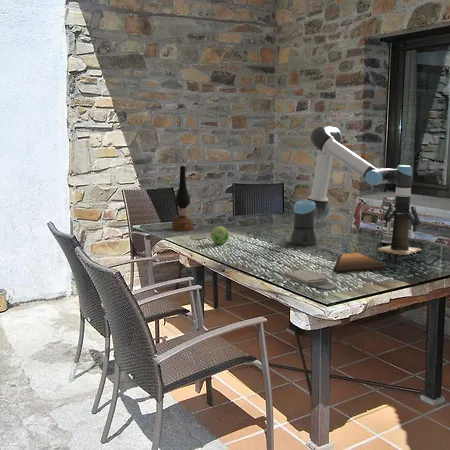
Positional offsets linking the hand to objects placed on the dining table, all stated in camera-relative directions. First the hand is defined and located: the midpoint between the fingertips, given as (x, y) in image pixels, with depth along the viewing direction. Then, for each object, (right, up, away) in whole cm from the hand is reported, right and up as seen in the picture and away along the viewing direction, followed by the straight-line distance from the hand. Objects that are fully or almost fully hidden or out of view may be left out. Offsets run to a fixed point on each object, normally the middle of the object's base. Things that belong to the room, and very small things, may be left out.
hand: (400, 235), depth 299 cm
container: (0, -7, +1) cm, 7 cm away
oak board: (0, -8, +1) cm, 8 cm away
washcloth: (-57, -18, -55) cm, 81 cm away
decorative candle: (+2, -4, +27) cm, 27 cm away
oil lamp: (-118, +3, +58) cm, 132 cm away
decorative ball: (-95, -5, +15) cm, 96 cm away
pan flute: (-34, -14, -29) cm, 47 cm away
